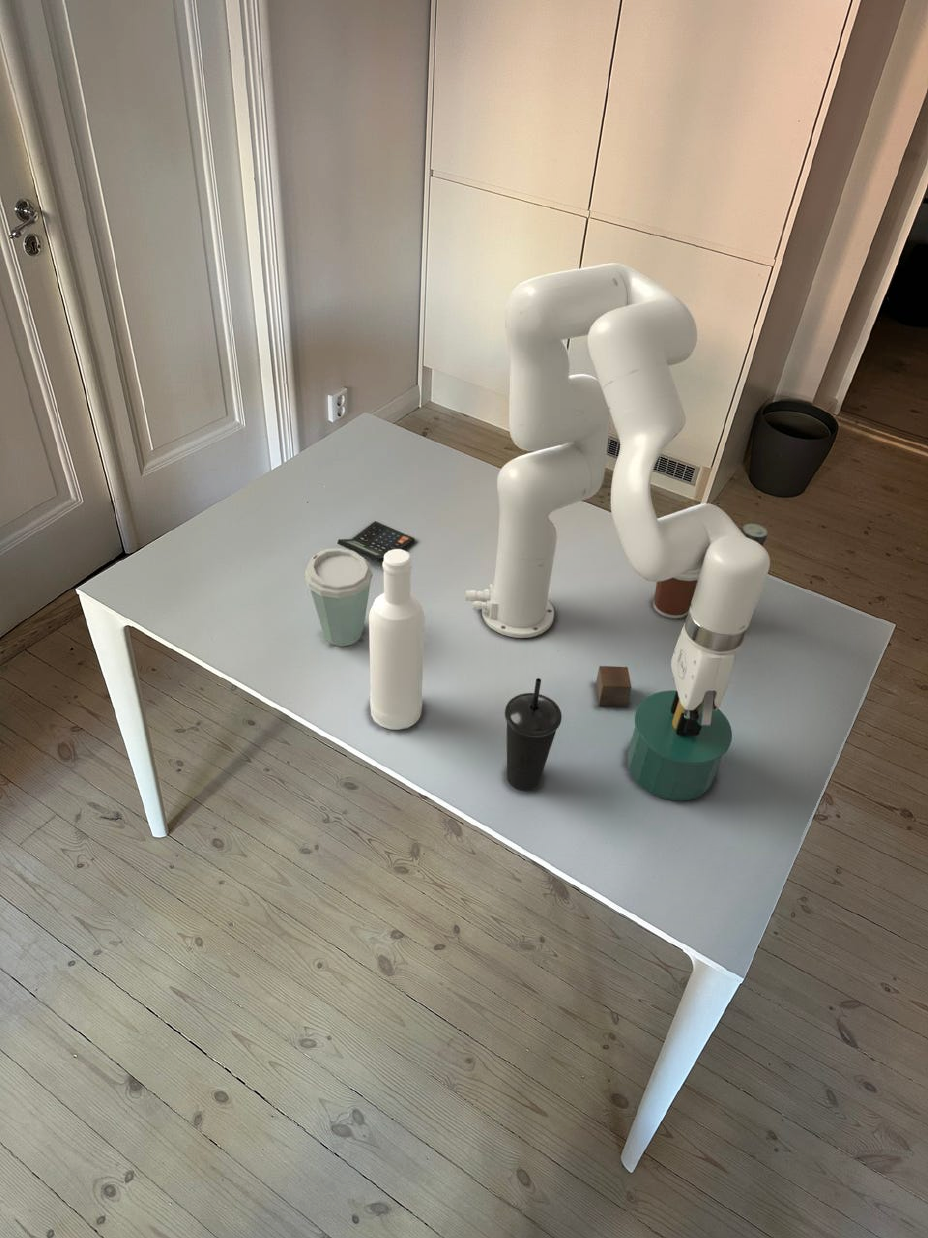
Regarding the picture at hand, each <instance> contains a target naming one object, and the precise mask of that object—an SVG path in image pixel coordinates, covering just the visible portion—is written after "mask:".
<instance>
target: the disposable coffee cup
mask: <svg viewBox="0 0 928 1238" xmlns="http://www.w3.org/2000/svg"><path fill="white" fill-rule="evenodd" d="M372 578H373V571H372V568H371V566H370V563H369V562H368V560H367V559H365V557H364V556H363V555H361V554H359V553H357V552H354V551H352V550H350V549H348V548H344V547H343V548H342V547H331V548H324V549H322V550H320V551H319V552H316V553H315V554H313V556H312V557H311V558H310V560H309V562H308V564H307V568H306V569H305V572H304V579H305V582H306V584H307V587H308V589H309V590H310V593H311V596H312V601H313V603H314V606H315V611H316V615H317V617H318V621H319V624H320V627H321V631H322V634H323V636H324V638H325V639H326V641H327V642H328V643H330V644H331V645H333V646H339V647H346V646H351V645H353V644H355V643H356V642H358V641H359V640H360V638H361V636H362V634H363V633H364V630H365V629H364V628H365V621H366V615H367V608H368V602H369V596H370V595H369V594H370V589H371V588H370V587H371V583H372Z"/></svg>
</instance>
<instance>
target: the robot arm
mask: <svg viewBox="0 0 928 1238" xmlns="http://www.w3.org/2000/svg"><path fill="white" fill-rule="evenodd" d="M504 328H505V334H506V337H507V338H506V339H507V343H508V350H509V356H510V357H509V360H510V365H509V366H510V368H509V393H508V429H509V435H510V437H511V440H512V442H513V444H514V445H515V446H516V447H518V448H519V449H521V450H523V451H527V452H528V453H526V454H525V453H524V454H522V455H519V456H517V457H515V458H513V459H511V460H509V461H508V462H506V463H505V464H504V465H503V466H502V467H501V468H500V470H499V472H498V474H497V478H496V490H497V491H496V492H497V498H498V499H497V500H498V508H499V509H498V510H499V519H498V521H499V523H498V535H497V546H496V557H495V567H494V578H493V583H490V585H489V589H488V588H485V589H483V590H476V589H475V590H474V589H473V590H470V589H466V590H465V602H472V610H481V615H482V616H481V617H482V618H483V620H484V622H485V624H486V625H487V626H488V627H489V628H490V629H492V630H493V631H495V632H496V633H498V634H500V635H503V636H506V637H510V638H516V639H527V638H533V637H537V636H540V635H541V634H544V633H545V632H546V631H548V630H549V629H550V628H551V626H552V624H553V622H554V617H555V610H554V606H553V605H552V603H551V602H550V601H549V599H548V597H549V592H550V586H551V581H552V580H551V579H552V573H553V567H554V559H555V553H556V546H557V538H558V537H557V536H558V535H557V534H558V533H557V529H556V526H555V524H554V522H553V521H552V520H551V519H550V518H549V516H550V514H551V513H553V512H556V511H557V510H560V509H563V508H564V507H567V506H570V505H574V504H577V503H580V502H582V501H585V500H588V499H590V498H592V497H593V496H595V495H596V494H597V493H598V492H599V491H600V489H601V488H602V486H603V483H604V480H605V474H606V467H607V457H608V448H609V440H610V439H609V438H610V427H611V419H612V422H613V425H614V428H615V431H616V433H617V437H618V440H619V451H618V455H617V459H616V462H615V465H614V468H613V471H612V472H613V473H612V478H611V486H610V512H611V517H612V521H613V524H614V527H615V530H616V533H617V536H618V538H619V541H620V545H621V547H622V549H623V552H624V554H625V556H626V558H627V560H628V562H629V564H630V566H631V568H632V569H633V571H634V572H635V573H636V574H637V575H638V576H639V577H641V578H642V579H644V580H646V581H649V582H654V583H657V582H659V581H665V580H668V579H670V578H673V577H675V576H678V575H681V574H683V573H685V572H688V571H690V570H693V569H695V568H698V569H701V572H700V575H699V578H698V582H697V585H696V589H695V592H694V596H693V599H692V602H691V606H690V608H689V612H688V613H687V615H686V618H685V622H684V624H683V627H682V629H681V631H680V633H679V636H678V639H677V642H676V645H675V647H674V649H673V653H672V656H671V660H670V667H671V673H672V676H673V679H674V684H675V685H674V686H675V688H676V691H677V692H676V693H675V696H674V699H673V702H672V706H671V709H670V710H671V713H672V714H675V711H676V708H677V705H678V702H679V699H680V702H681V705H682V706H683V708H684V709H685V712H684V713H681V716H680V719H679V722H678V725H677V728H676V734H677V735H685V736H698V735H699V733H700V730H701V727H702V726H710V724H711V716H712V708H713V710H714V711H716V710H717V709H720V707H721V705H722V702H723V700H724V698H725V696H726V692H727V688H728V686H729V682H730V679H731V675H732V671H733V666H734V662H735V657H736V651H738V650H739V649H740V648H741V647H742V646H743V643H744V640H745V637H746V634H747V632H748V629H749V627H750V623H751V620H752V618H753V616H754V612H755V610H756V608H757V607H756V606H757V604H758V602H759V599H760V596H761V593H762V591H763V588H764V584H765V582H766V579H767V577H768V575H769V574H768V573H769V570H770V566H771V559H770V555H769V553H768V551H767V549H766V548H765V547H764V545H763V546H761V545H760V544H759V543H757V542H756V541H754V540H752V539H749V538H747V537H746V536H745V535H744V534H743V533H742V530H740V529H739V527H738V526H737V524H736V523H735V521H733V520H732V519H731V517H730V516H729V515H728V514H727V513H726V512H725V511H724V510H723V509H722V508H720V507H719V506H717V505H715V504H713V503H707V502H704V503H698V504H695V505H692V506H689V507H687V508H684V509H681V510H678V511H675V512H672V513H670V514H667V515H664V516H661V517H659V518H658V517H657V513H656V511H655V508H654V505H653V500H652V491H651V482H652V476H653V471H654V468H655V466H656V464H657V462H658V459H659V458H660V456H661V455H662V453H663V452H664V450H665V448H667V446H668V445H669V444H670V443H671V442H672V441H673V440H674V439H675V438H676V437H677V436H678V435H679V433H680V432H681V431H682V430H683V429H684V427H685V424H686V419H687V418H686V414H685V411H684V408H683V406H682V404H681V400H680V397H679V394H678V391H677V388H676V385H675V382H674V380H673V377H672V374H671V371H670V368H669V367H670V366H674V365H677V364H680V363H683V362H684V361H686V360H687V359H688V358H689V357H691V356H692V354H693V353H694V350H695V348H696V345H697V341H698V330H697V324H696V321H695V319H694V317H693V314H692V313H691V310H689V308H688V307H687V306H686V304H685V303H684V302H683V301H682V300H681V299H680V298H678V297H677V296H676V295H675V294H674V293H672V292H671V291H670V290H668V289H666V288H665V287H663V286H662V285H660V284H658V283H657V282H655V281H653V280H652V279H651V278H649V277H647V276H646V275H645V274H642V273H641V272H639V271H638V270H636V269H634V268H632V267H631V266H628V265H626V264H621V263H606V264H605V263H604V264H603V263H602V264H598V265H593V266H587V267H582V268H575V269H568V270H562V271H558V272H553V273H547V274H544V275H543V274H542V275H539V276H536V277H533V278H529V279H526V280H524V281H523V282H521V283H519V284H518V285H516V287H514V288H513V289H512V291H511V292H510V294H509V296H508V298H507V300H506V305H505V309H504ZM583 336H587V339H586V340H587V347H588V348H587V349H588V352H589V356H590V359H591V362H592V365H593V367H594V370H595V374H596V377H597V378H595V377H594V376H592V375H589V374H584V373H581V374H579V373H578V374H577V373H576V374H572V375H570V369H571V358H570V353H569V351H568V347H567V345H566V344H565V342H564V340H569V339H573V338H579V337H583ZM697 706H700V711H692V710H694V709H695V708H696V707H697Z"/></svg>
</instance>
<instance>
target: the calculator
mask: <svg viewBox="0 0 928 1238" xmlns="http://www.w3.org/2000/svg"><path fill="white" fill-rule="evenodd" d="M413 543H415V537H413V536H410V535H408V534H405V533H404V532H401V531H399V530H396V529H394V528H391V526H388V525H386V524H382V523H381V522H378V521H373V522H372V523H371V524H370V525H368V526H367V527H365V528H364V529H363V530H362V531H360V532H359V533H357V534H356V535H354V536H353V537H352V538H348V539H347V538H343V539H340V538H338V540H337V545H340V546H341V547H343V548H345V549H347V550H352V551H354V552H356V553H357V554H359V555H360V556H362V557H364V558H365V557H366V558H368V559H370V560H372V561H374V562H376V563H383V561H384V555H385V553H387V552H388V551H390V550H393V549H401V550H404V551H406V550H407V549H408V548H409V547H410V546H411V545H412V544H413Z"/></svg>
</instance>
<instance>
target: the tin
mask: <svg viewBox="0 0 928 1238" xmlns="http://www.w3.org/2000/svg"><path fill="white" fill-rule="evenodd" d="M626 756H627V759H626V760H627V761H626V762H627V767H628V771H629V772H630V775H631V776H632V778H633V779H634V780H635V781H636V783H637V784H638V785H639V786H640V787H641V788H643V790H645V791H647V792H648V793H649V794H652V795H653V796H656V797H659V798H660V799H663V800H668V801H677V802H678V801H679V802H681V801H683V802H684V801H691V800H693V799H696V798H698V797H700V796H702V795H703V794H705V793H706V792H708V790H709V788H710V787H711V786H712V784H713V782H714V779H715V777H716V773H717V772H718V769H719V766H720V763H721V761H722V759H723V756H722V757H721V758H719V759H717V760H716V761H713V762H711V763H707V764H703V765H685V764H680V763H676V762H672V761H670V760H667V759H665V758H663V757H661V756H659V755H658V754H656V753H655V752H653V751H652V750H651V749H649V748H648V747H647V746H646V745H645V744H644V742H643V741H642V740H641V738H640V737H639V735H638V733H637V731H636V727H635V726H634V730H633V734H632V737H631V741H630V744H629V748H628V752H627V755H626Z"/></svg>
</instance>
